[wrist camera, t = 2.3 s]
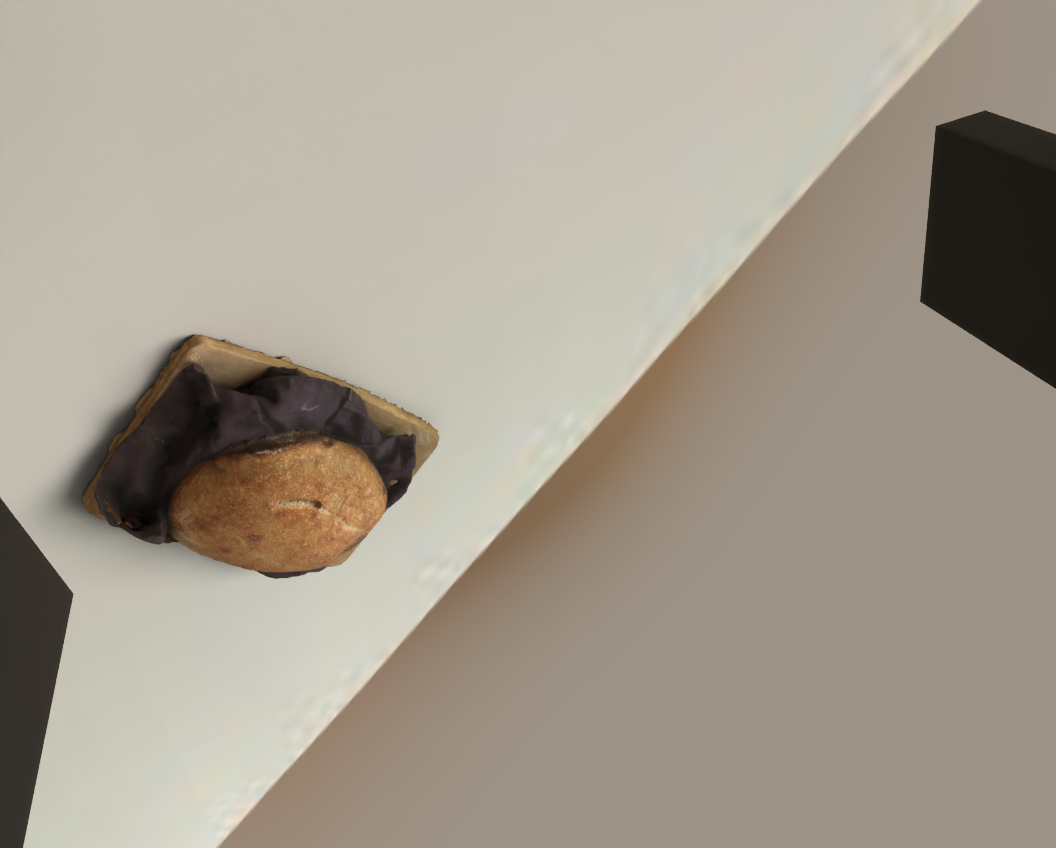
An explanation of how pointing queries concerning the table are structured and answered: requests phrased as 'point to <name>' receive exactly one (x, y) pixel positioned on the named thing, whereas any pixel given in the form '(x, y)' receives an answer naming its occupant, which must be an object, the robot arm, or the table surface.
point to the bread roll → (257, 461)
